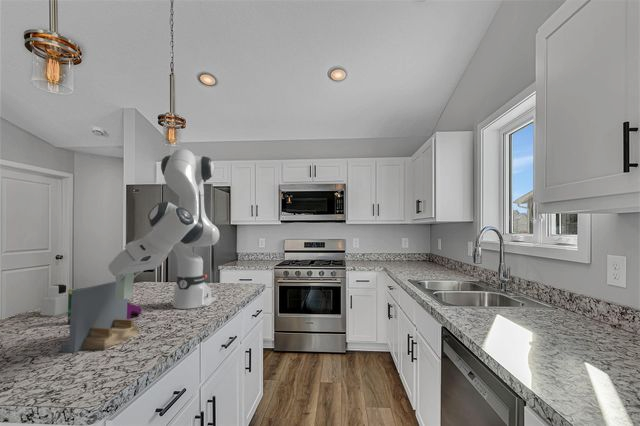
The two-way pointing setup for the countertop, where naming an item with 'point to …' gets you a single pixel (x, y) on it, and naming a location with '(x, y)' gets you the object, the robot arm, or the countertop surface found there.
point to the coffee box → (70, 304)
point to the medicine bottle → (55, 301)
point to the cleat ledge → (111, 334)
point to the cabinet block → (125, 287)
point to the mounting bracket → (132, 310)
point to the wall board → (93, 313)
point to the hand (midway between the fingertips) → (124, 278)
